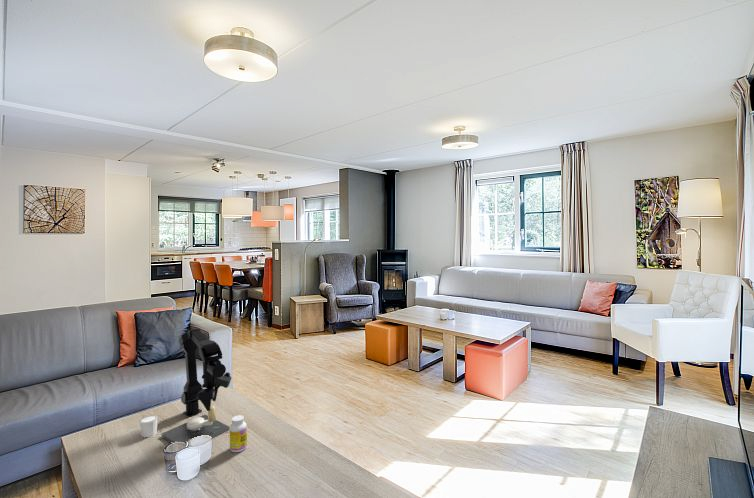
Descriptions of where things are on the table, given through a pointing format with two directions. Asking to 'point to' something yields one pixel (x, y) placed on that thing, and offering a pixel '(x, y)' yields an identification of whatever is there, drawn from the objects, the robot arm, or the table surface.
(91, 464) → the table surface
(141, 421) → the shot glass
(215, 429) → the base
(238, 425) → the supplement bottle
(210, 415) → the beige rounded piece
